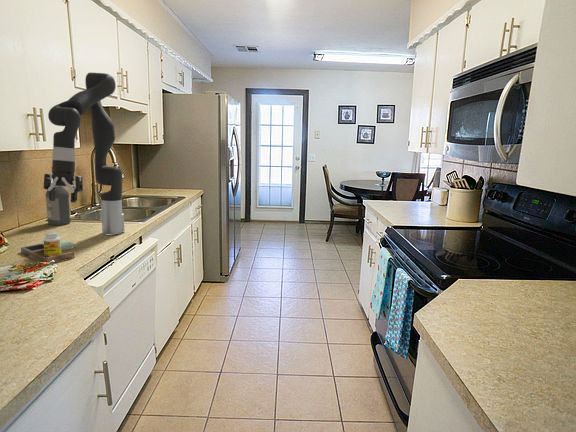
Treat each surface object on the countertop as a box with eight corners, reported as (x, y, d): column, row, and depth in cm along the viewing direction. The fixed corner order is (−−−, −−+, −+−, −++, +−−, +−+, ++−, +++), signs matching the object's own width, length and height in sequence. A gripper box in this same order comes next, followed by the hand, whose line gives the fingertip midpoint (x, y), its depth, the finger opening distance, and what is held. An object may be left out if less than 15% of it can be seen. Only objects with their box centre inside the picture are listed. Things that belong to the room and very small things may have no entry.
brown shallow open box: (58, 251, 150) (58, 245, 150) (74, 257, 145) (74, 251, 144) (29, 258, 141) (29, 252, 141) (45, 265, 136) (44, 258, 135)
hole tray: (43, 247, 154) (42, 243, 153) (53, 251, 150) (53, 247, 149) (21, 252, 147) (20, 247, 146) (31, 256, 143) (31, 251, 142)
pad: (65, 243, 161) (65, 240, 161) (75, 247, 157) (75, 244, 157) (46, 247, 154) (45, 244, 154) (56, 251, 150) (56, 248, 150)
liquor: (56, 226, 187) (52, 168, 180) (45, 223, 190) (41, 166, 184) (73, 223, 195) (70, 167, 188) (62, 220, 198) (58, 165, 192)
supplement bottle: (42, 260, 140) (39, 234, 138) (49, 255, 146) (47, 230, 144) (57, 260, 141) (55, 235, 139) (64, 255, 146) (62, 231, 144)
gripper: (87, 161, 143) (86, 202, 145) (53, 159, 144) (52, 200, 145) (75, 160, 136) (74, 203, 137) (39, 157, 137) (38, 200, 138)
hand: (62, 201), depth 141 cm, fingers open, 8 cm apart
